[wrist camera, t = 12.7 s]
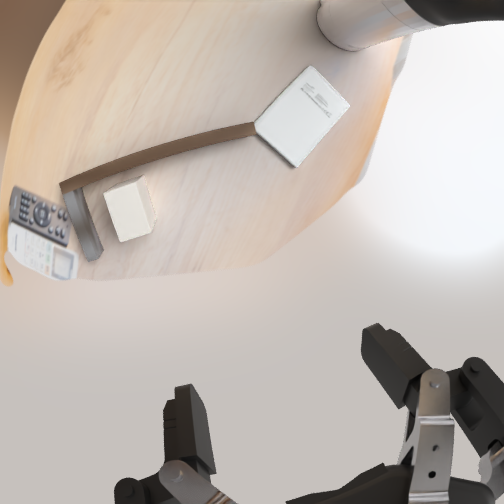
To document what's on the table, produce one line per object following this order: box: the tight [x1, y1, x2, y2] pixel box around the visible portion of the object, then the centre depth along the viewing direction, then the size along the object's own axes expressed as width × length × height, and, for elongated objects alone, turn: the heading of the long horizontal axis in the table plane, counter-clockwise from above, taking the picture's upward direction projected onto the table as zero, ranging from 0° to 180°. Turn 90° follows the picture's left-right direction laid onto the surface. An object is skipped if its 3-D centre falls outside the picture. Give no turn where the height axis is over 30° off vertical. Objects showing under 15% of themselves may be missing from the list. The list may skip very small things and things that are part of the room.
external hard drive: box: [254, 65, 350, 168], centre depth 34 cm, size 2×8×12 cm
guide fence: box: [59, 122, 257, 262], centre depth 33 cm, size 11×25×3 cm, turn 102°
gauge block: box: [103, 175, 157, 242], centre depth 31 cm, size 6×4×6 cm, turn 12°
